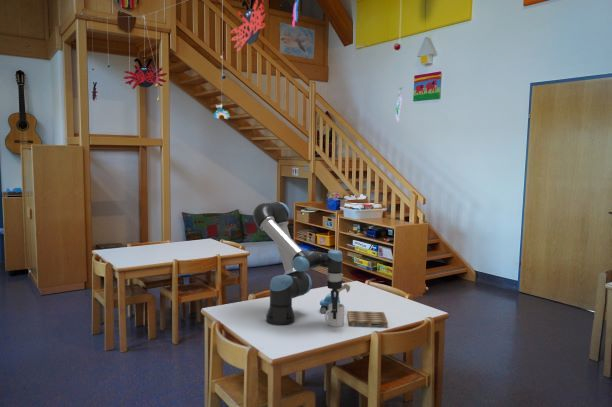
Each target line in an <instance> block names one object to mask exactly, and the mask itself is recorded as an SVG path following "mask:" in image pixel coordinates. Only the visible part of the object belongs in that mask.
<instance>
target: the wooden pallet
mask: <svg viewBox="0 0 612 407" xmlns="http://www.w3.org/2000/svg"><path fill="white" fill-rule="evenodd" d="M346 311H347V313H346V314H347V316H346V317H347V323H348V327H355V324H364V327H366V328H367V327H368V328H372V324H380V327H381V328H385V329H387V328H388V324H389V323H388V320H387V319H388V318H387V317H386V314H385V312H384V311H362V310H361V311H358V310H346Z"/></svg>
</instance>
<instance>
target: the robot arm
mask: <svg viewBox="0 0 612 407" xmlns="http://www.w3.org/2000/svg"><path fill="white" fill-rule="evenodd" d="M290 216H291V213H290V209H289V207H288V206H287V204H286V203H284V202H280V201H273V202H263V203H260V204H258V205H257V206H256V207H255V208H254V210H253V214H252V218H253V221H254V223H255V225H256V226H257V227H258V228H259V229H260V231H264V232H265V233H266V234H267V235H268V236H269V237H270V238H271V240H273V242H275V244H276V246H277V250H278V253H279V255H280V259H281V262H282V266H283V269H284V273H283V274H279V275H275V276H273V277H272V278H271V279H270V284H269V308H268V311H267V313H266V315H265V316H266V318H265V319H266V320H265V321H266V322H267V323H268V324H271V325H276V326H285V325H286V326H287V325H291V324H293V323H295V321H296V320H295V318H296V316H295V313H294V310H293V306H292V304H293V299H296V298H298V297H301V296H305V295H306V294H308V293H309V292H310V291H311V288H312V285H313V283H312V282H313V281H312V279H311V278H312V277H311V276H310V275H309V274H308V273H306V271H309V270H313V269H317V268H324V269H325V268H326V269H327V276H326V277H327V278H326V279H327V284H326V285H327V289H330V293H331V301H332V302H331V303H332V311H331V313H332V325H337V312H338V311H337V303H338V302H337V300H338V291H337V289H341V288H342V285H343V281H342V280H343V276H344V274H343V252H342V250H338V249H330V250H328V251H327V252H321V251H310V252H309V253H308V254H307V253H306V252H305V251H304V250H303V249H302V248H301V247H300V246H299V245H298V244H297V243H296V241H294V240H293V239H292V237H291V234H290V232H289V231H290V230H289V228H288V225H289V223H290V222H289V218H290Z"/></svg>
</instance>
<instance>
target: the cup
mask: <svg viewBox="0 0 612 407" xmlns="http://www.w3.org/2000/svg"><path fill="white" fill-rule="evenodd" d="M331 311H332V303H331V304H329V306H328V310H327V311H326V313H324V320H325V323H327V324H328V325H329V327H335V328H337V327H339V328H340V327H342V326H343V325H344V324H345V304H343V303H341V302H340V303H337V311H338V312H337V325H332V313H331Z"/></svg>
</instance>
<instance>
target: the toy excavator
mask: <svg viewBox="0 0 612 407" xmlns="http://www.w3.org/2000/svg"><path fill="white" fill-rule="evenodd" d="M344 290H346V293H349V292H350V290H351V285H350V284H349V283H348V282H344V283H343V284H342V288H341V289H337V291H338V300H337V302H338V303H340V304H341V301H340V292H341V291H344ZM331 302H332V301H331V292H330V293H327V294H326V296H325V297H324V299H321V300H320V301H319V305H320V308H319V311H320V313H321V314H326V311H327V310H328V306H329V304H331Z"/></svg>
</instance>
